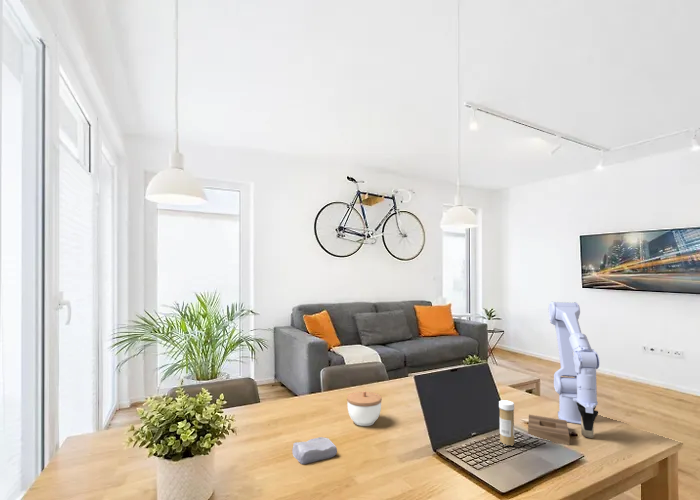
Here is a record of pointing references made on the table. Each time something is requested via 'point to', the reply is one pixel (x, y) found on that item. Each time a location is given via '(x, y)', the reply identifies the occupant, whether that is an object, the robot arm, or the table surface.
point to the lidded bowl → (364, 407)
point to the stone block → (314, 450)
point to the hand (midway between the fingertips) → (587, 427)
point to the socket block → (549, 429)
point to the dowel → (586, 431)
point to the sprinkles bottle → (506, 422)
